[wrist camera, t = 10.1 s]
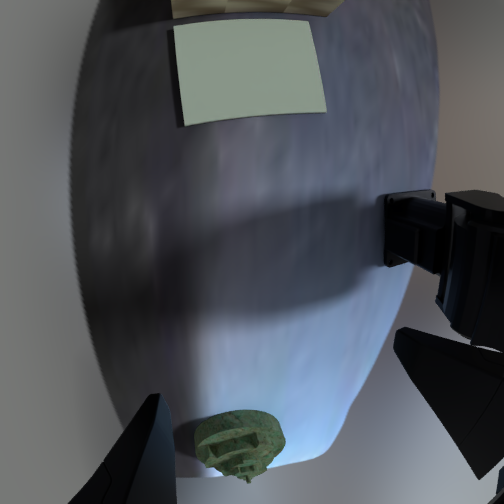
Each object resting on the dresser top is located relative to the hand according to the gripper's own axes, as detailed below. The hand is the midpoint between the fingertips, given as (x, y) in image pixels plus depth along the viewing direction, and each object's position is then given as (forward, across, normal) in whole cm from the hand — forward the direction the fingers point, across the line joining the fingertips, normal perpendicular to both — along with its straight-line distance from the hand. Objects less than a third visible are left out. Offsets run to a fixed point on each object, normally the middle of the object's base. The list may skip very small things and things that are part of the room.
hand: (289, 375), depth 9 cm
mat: (+12, -3, -14) cm, 19 cm away
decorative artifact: (+12, +4, +21) cm, 25 cm away
